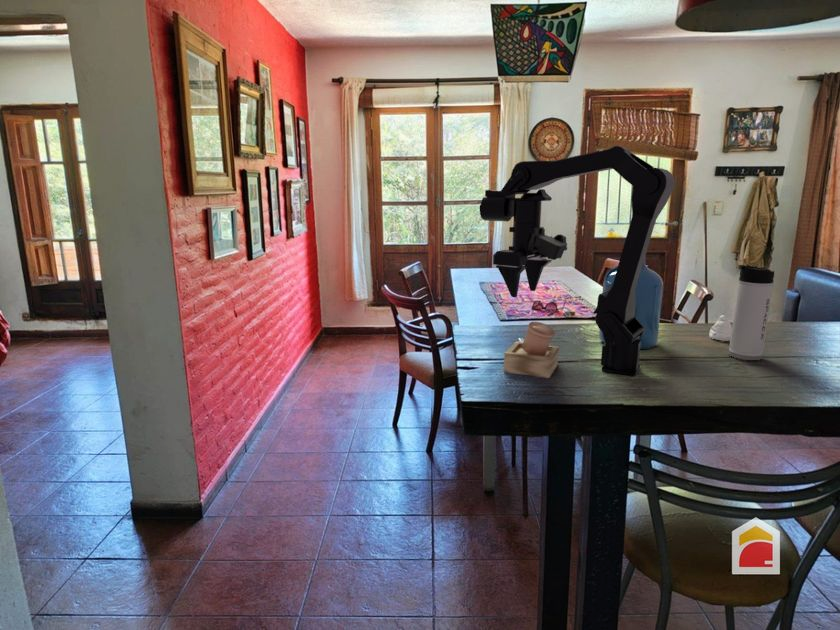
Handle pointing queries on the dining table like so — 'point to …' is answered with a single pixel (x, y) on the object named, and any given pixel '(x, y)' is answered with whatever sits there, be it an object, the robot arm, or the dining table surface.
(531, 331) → the terracotta cup
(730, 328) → the garlic bulb
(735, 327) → the travel mug
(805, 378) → the dining table surface
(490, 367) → the dining table surface
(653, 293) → the blue bottle
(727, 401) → the dining table surface
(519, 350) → the oak riser block
